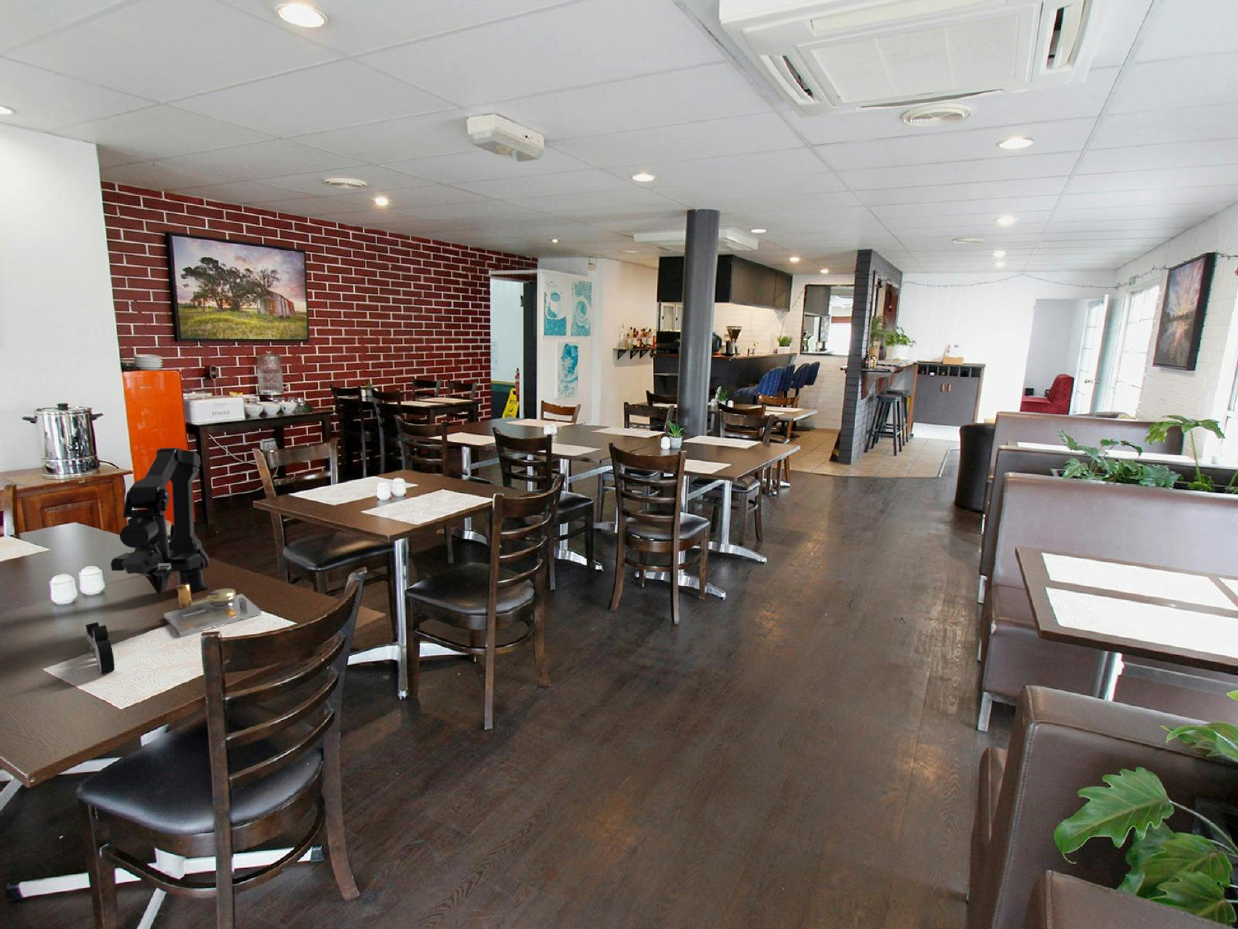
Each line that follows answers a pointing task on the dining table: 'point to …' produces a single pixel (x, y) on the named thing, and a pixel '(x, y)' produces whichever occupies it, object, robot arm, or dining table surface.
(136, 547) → the robot arm
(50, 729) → the dining table surface
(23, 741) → the dining table surface
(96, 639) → the logo
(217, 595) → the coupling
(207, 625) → the base
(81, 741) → the dining table surface
